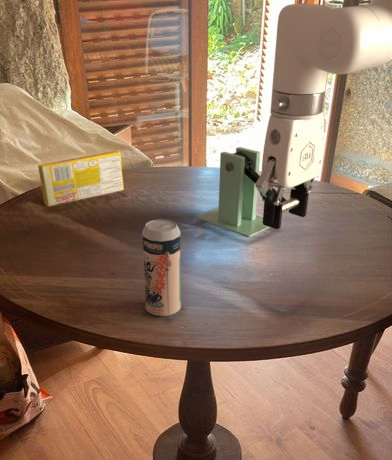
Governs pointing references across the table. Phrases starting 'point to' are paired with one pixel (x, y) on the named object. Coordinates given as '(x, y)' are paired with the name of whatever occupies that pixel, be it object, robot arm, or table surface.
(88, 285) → the table surface
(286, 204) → the lever
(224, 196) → the bracket
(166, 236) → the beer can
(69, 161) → the candy box
